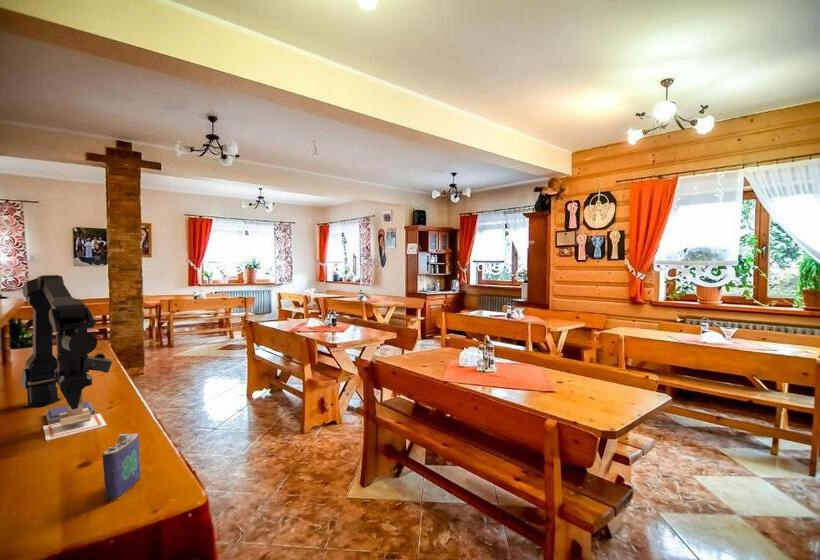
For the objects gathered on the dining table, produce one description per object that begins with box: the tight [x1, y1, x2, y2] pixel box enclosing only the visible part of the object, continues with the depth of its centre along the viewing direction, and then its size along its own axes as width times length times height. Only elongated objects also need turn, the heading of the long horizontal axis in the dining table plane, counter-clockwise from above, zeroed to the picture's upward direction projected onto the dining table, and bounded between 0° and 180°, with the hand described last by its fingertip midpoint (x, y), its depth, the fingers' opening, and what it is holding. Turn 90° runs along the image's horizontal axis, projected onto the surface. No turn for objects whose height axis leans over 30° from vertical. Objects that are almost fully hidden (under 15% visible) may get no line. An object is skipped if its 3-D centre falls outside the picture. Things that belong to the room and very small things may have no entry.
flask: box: [101, 433, 142, 503], centre depth 75 cm, size 9×3×11 cm, turn 8°
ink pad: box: [45, 401, 96, 425], centre depth 113 cm, size 10×10×2 cm
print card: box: [42, 413, 108, 442], centre depth 104 cm, size 12×12×1 cm
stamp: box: [59, 391, 91, 427], centre depth 104 cm, size 6×6×8 cm
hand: (74, 407), depth 104 cm, fingers closed on stamp, 3 cm apart
